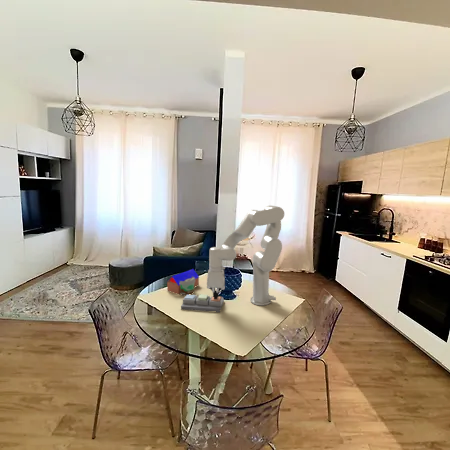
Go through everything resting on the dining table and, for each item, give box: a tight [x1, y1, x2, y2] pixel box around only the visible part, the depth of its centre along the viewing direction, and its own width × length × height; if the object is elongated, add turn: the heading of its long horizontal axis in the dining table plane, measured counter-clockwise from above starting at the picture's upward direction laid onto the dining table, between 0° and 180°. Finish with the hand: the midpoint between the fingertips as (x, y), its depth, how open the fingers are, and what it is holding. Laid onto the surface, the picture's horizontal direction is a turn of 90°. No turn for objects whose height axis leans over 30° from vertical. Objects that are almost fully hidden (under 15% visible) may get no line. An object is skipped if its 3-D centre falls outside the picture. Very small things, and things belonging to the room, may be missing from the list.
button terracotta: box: [211, 296, 222, 302], centre depth 151 cm, size 5×5×2 cm
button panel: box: [180, 294, 225, 313], centre depth 152 cm, size 23×14×4 cm, turn 81°
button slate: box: [184, 294, 196, 300], centre depth 154 cm, size 5×5×2 cm
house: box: [166, 268, 200, 295], centre depth 178 cm, size 12×20×12 cm, turn 142°
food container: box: [179, 276, 195, 296], centre depth 169 cm, size 12×6×10 cm, turn 143°
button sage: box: [197, 293, 209, 301], centre depth 152 cm, size 5×5×2 cm
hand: (215, 298), depth 151 cm, fingers closed
